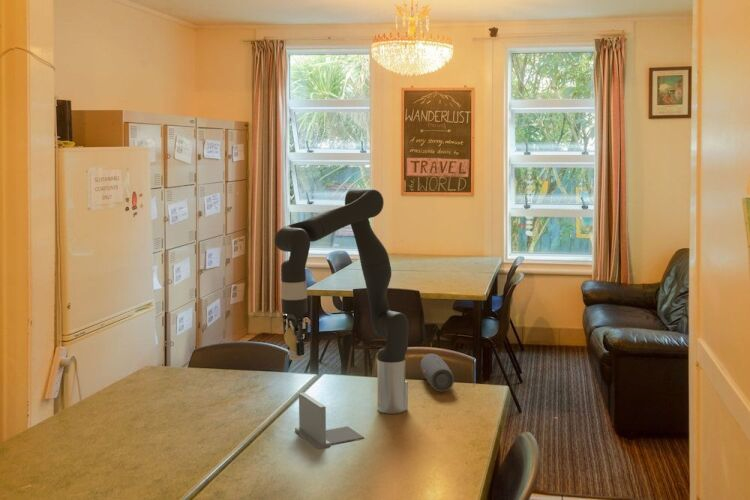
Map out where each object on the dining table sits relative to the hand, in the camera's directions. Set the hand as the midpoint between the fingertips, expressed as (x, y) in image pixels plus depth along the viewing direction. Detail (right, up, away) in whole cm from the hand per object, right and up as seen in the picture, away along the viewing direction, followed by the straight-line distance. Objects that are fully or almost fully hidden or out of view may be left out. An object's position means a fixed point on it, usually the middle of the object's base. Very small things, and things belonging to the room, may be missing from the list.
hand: (295, 352), depth 232 cm
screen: (+4, -26, +5) cm, 27 cm away
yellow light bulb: (0, -2, 0) cm, 2 cm away
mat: (+12, -26, +7) cm, 30 cm away
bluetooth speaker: (+46, -20, +59) cm, 77 cm away
